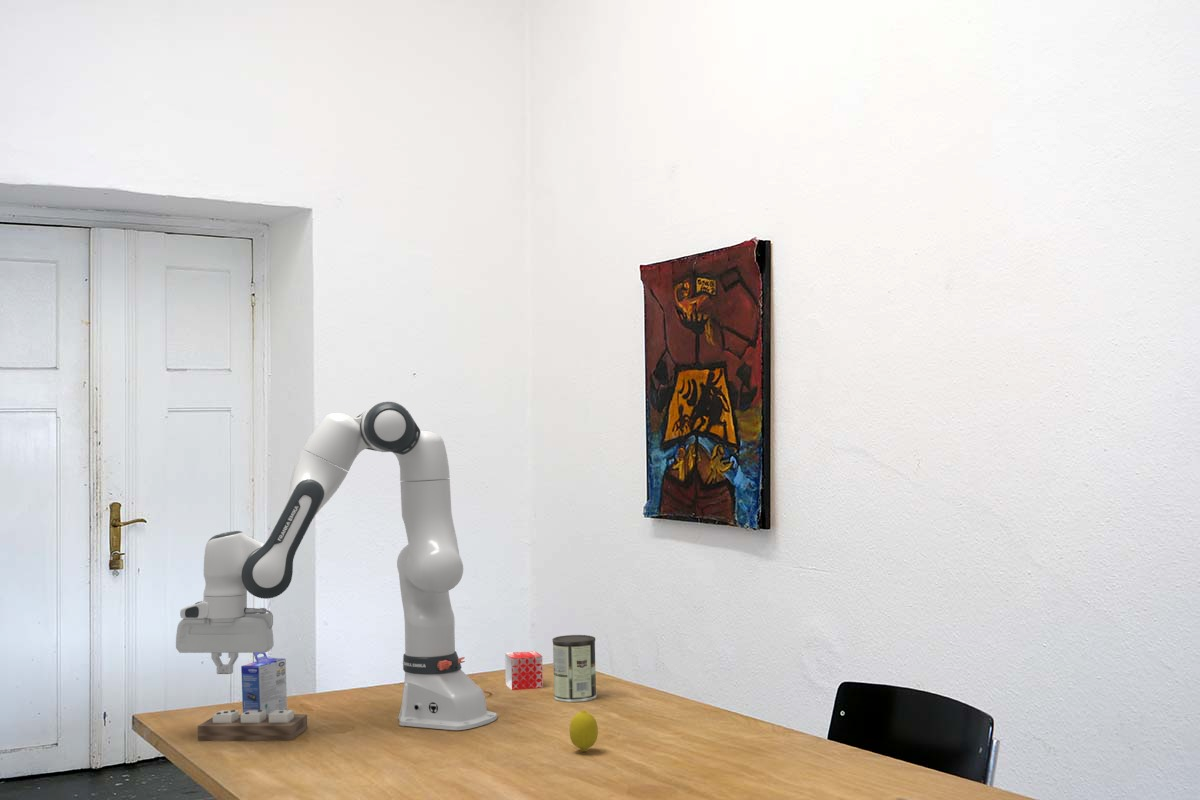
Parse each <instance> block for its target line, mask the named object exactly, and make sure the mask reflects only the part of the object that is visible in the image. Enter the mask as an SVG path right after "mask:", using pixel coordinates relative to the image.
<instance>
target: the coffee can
mask: <svg viewBox="0 0 1200 800" xmlns="http://www.w3.org/2000/svg"><path fill="white" fill-rule="evenodd" d="M551 641H552V652H553V653H552V654H553V657H552V658H553V699H554V700H555V701H559V702H565V703H581V702H582V703H583V702H589V701H593V700H595V699H597V682H596V681H597V680H596V671H597V670H596V637H595V636H593V635H585V634H571V635H570V634H569V635H567V634H566V635H559V636H556V637H553V638H552V640H551Z"/></svg>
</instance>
